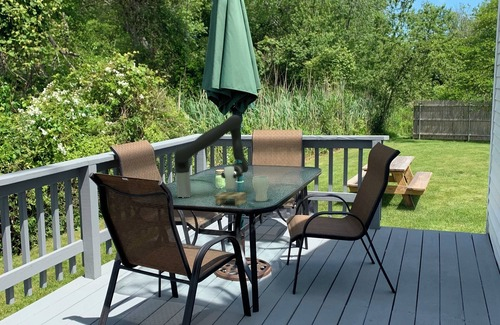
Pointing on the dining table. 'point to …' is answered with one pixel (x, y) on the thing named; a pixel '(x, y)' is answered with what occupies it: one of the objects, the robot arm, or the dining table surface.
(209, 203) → the dining table surface
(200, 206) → the dining table surface
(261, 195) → the cup
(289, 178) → the dining table surface
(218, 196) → the shelf stand
